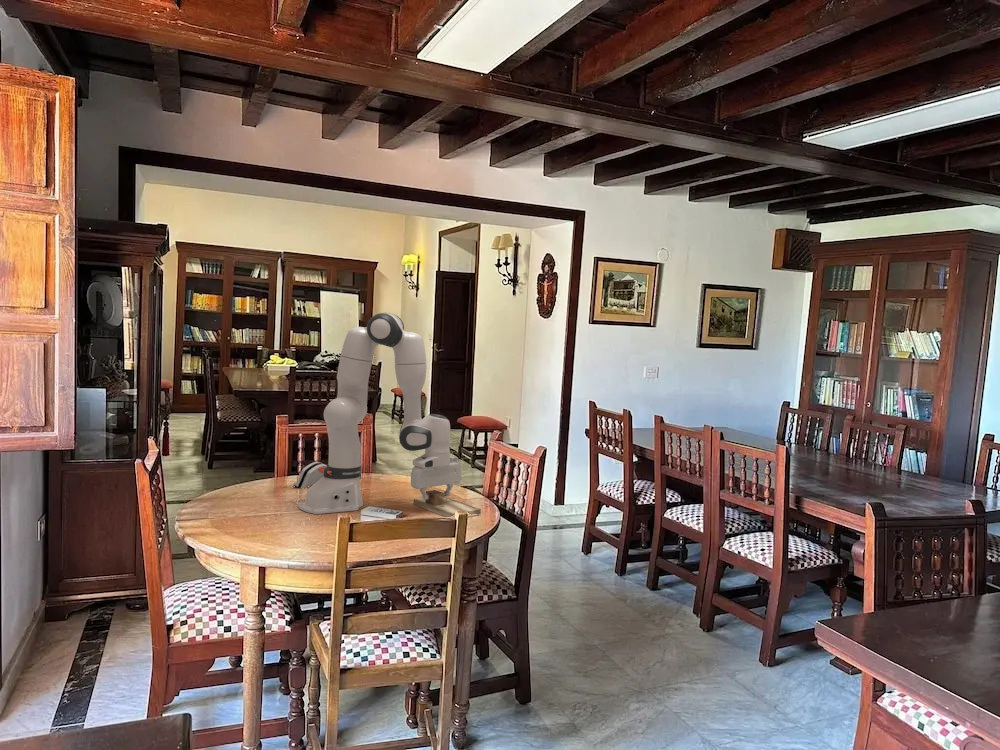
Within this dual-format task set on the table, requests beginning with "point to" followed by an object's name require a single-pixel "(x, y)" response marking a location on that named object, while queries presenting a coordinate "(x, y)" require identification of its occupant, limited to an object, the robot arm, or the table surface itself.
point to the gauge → (435, 497)
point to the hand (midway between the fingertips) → (436, 497)
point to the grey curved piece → (310, 475)
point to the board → (447, 507)
